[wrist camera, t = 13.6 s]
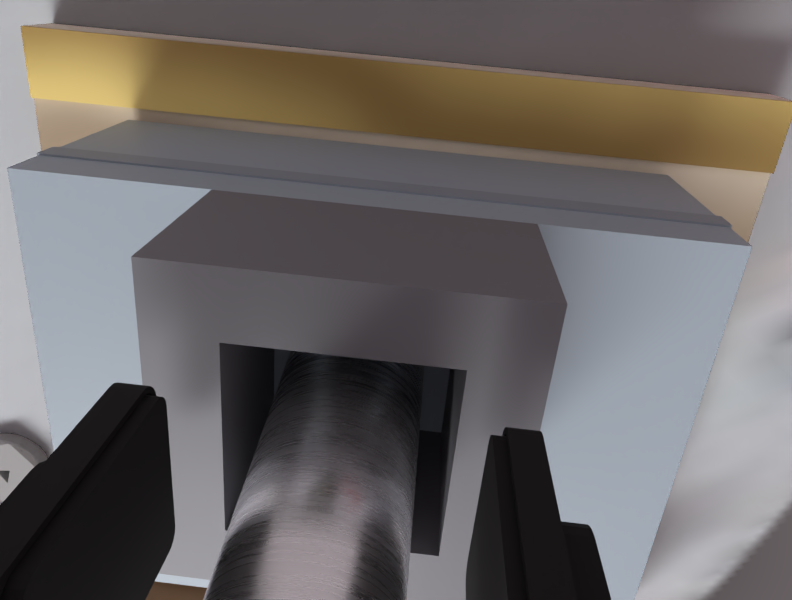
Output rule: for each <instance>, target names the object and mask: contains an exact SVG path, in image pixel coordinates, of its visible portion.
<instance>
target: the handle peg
mask: <svg viewBox="0 0 792 600" xmlns="http://www.w3.org/2000/svg"><path fill="white" fill-rule="evenodd" d="M423 379H424V366H423V365H414V364H405V363H397V362H388V361H379V360H370V359H361V358H352V357H343V356H334V355H325V354H317V353H308V352H299V351H290V354H289V357H288V360H287V363H286V365H285V368H284V371H283V374H282V377H281V380H280V383H279V385H278V388H277V391H276V394H275V397H274V400H273V402H272V405H271V408H270V411H269V414H268V417H267V419H266V422H265V425H264V428H263V431H262V434H261V437H260V439H259V442H258V445H257V448H256V451H255V454H254V456H253V459H252V462H251V465H250V468H249V471H248V473H247V476H246V479H245V482H244V485H243V488H242V491H241V493H240V496H239V499H238V502H237V505H236V508H235V510H234V513H233V516H232V519H231V522H230V525H229V527H228V530H227V533H226V536H225V539H224V542H223V545H222V547H221V550H220V553H219V556H218V559H217V562H216V564H215V567H214V570H213V573H212V576H211V579H210V581H209V584H208V587H207V590H206V593H205V596H204V599H203V600H407V589H408V576H409V563H410V550H411V537H412V523H413V510H414V497H415V484H416V471H417V458H418V445H419V432H420V419H421V406H422V393H423Z"/></svg>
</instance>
